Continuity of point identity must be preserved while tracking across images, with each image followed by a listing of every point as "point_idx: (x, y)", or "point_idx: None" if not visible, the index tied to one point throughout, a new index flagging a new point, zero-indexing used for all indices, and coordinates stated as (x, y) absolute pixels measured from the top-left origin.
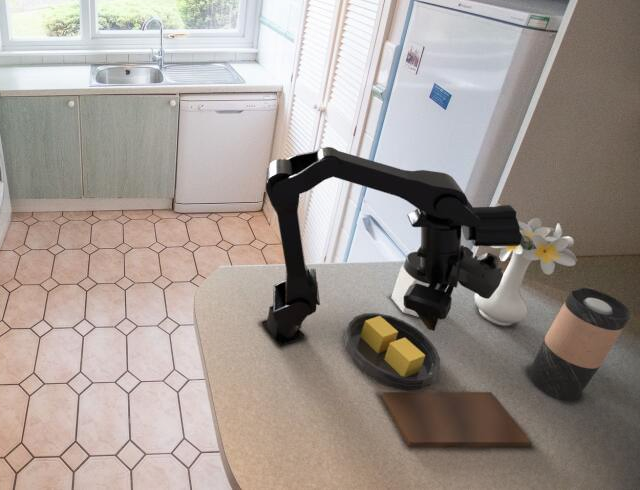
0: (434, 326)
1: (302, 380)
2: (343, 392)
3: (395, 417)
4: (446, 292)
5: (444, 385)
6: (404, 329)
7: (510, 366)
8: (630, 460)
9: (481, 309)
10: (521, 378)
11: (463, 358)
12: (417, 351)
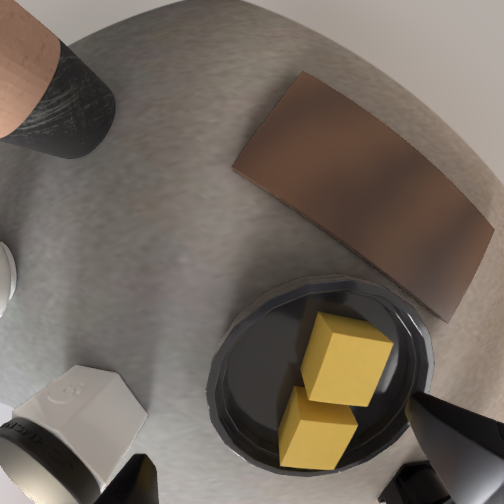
0: (453, 406)
1: (482, 399)
2: (470, 357)
3: (475, 272)
4: (142, 499)
5: (296, 252)
6: (220, 401)
7: (94, 185)
8: (172, 3)
9: (8, 297)
10: (111, 155)
11: (158, 262)
12: (338, 353)
